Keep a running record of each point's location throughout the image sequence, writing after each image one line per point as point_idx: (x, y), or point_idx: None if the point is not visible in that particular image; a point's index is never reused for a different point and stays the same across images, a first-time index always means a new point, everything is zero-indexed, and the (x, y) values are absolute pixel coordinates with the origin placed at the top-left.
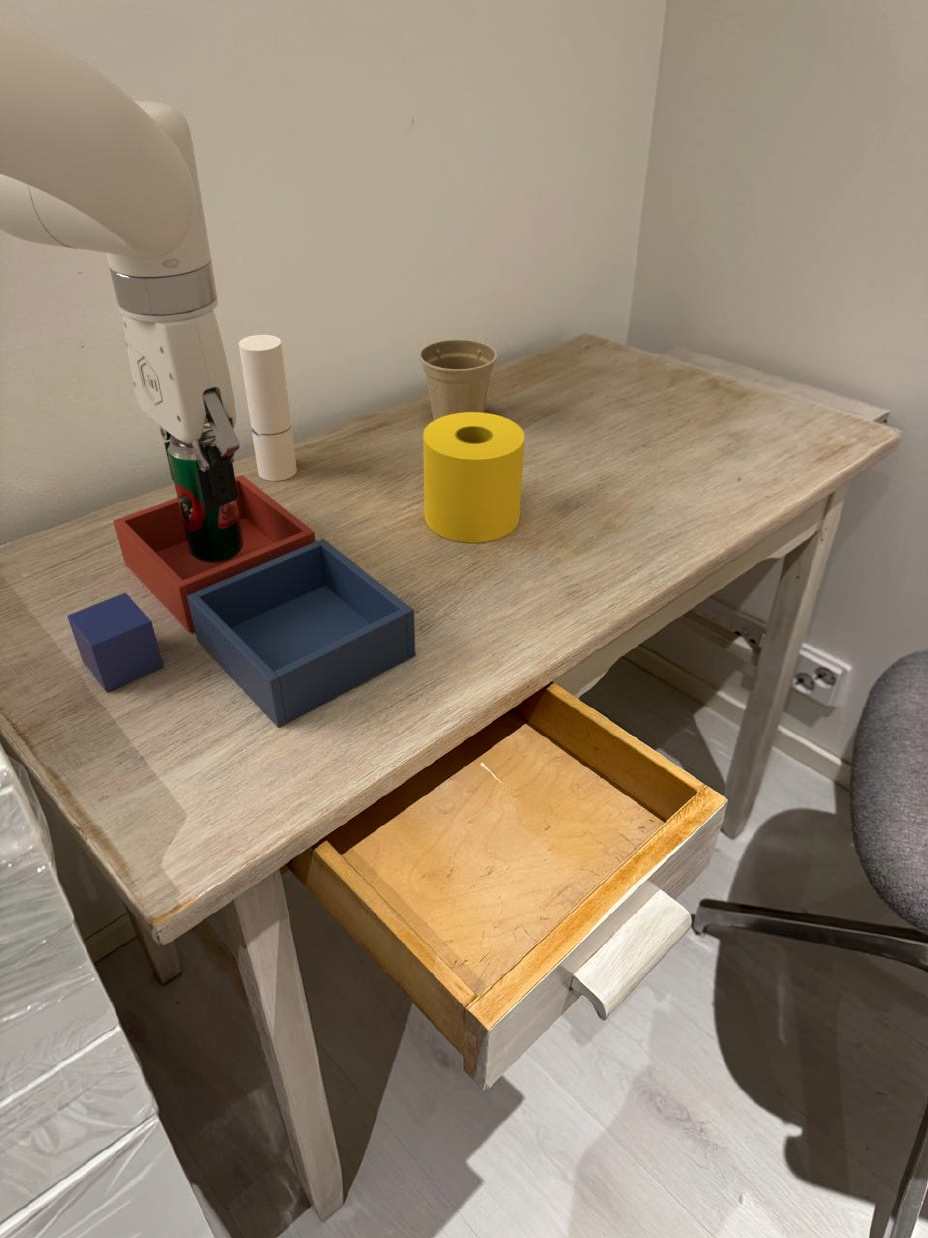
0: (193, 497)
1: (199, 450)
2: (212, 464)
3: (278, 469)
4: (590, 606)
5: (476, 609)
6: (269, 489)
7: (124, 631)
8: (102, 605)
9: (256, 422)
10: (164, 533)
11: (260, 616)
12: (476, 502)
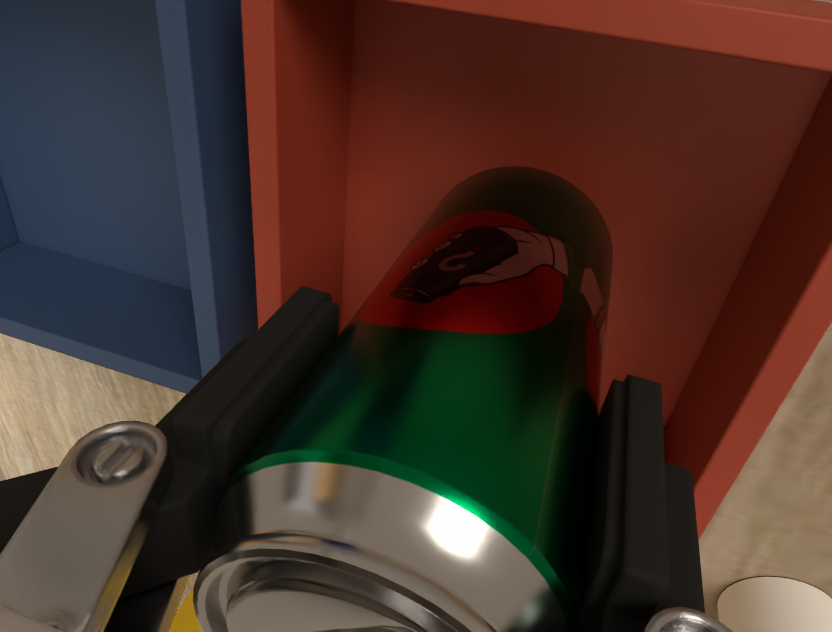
0: (371, 309)
1: (11, 542)
2: (45, 476)
3: (738, 615)
4: (29, 467)
5: (87, 395)
6: (731, 547)
7: None
8: None
9: None
10: (790, 212)
11: None
12: (182, 607)
